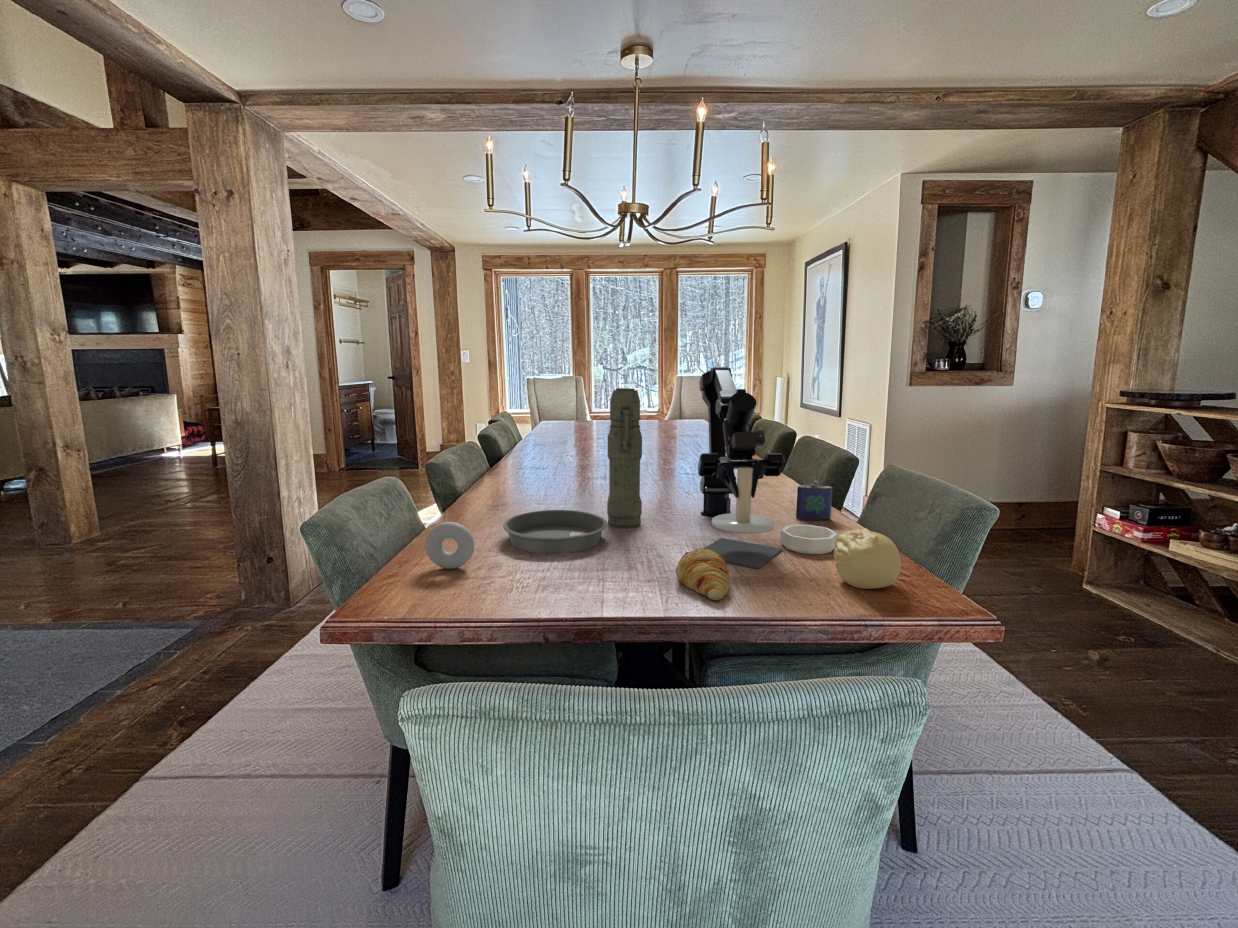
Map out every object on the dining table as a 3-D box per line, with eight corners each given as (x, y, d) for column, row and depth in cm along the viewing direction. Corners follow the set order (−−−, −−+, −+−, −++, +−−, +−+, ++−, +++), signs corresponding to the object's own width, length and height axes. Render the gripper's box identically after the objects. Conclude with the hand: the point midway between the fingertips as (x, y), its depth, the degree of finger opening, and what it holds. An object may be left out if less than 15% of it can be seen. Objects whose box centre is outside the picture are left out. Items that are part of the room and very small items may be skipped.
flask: (829, 518, 168) (831, 479, 166) (832, 520, 165) (834, 481, 163) (794, 517, 168) (796, 479, 166) (797, 520, 165) (799, 481, 163)
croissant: (733, 622, 111) (755, 584, 110) (686, 600, 109) (708, 561, 108) (699, 578, 131) (717, 545, 131) (658, 559, 129) (677, 525, 128)
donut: (424, 571, 126) (421, 524, 124) (428, 565, 129) (426, 519, 127) (473, 571, 126) (471, 523, 124) (476, 565, 129) (475, 519, 127)
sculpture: (824, 572, 126) (828, 521, 124) (884, 573, 126) (888, 522, 124) (842, 594, 115) (847, 538, 113) (908, 595, 114) (913, 539, 112)
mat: (693, 556, 136) (693, 554, 136) (721, 539, 148) (721, 537, 148) (758, 569, 128) (758, 567, 128) (782, 550, 140) (782, 548, 140)
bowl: (775, 548, 141) (775, 533, 140) (791, 536, 151) (792, 522, 150) (826, 558, 135) (827, 542, 134) (840, 544, 144) (841, 529, 144)
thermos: (636, 516, 168) (637, 387, 162) (645, 528, 157) (647, 390, 151) (604, 517, 167) (604, 387, 161) (610, 530, 155) (611, 390, 149)
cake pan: (542, 564, 131) (541, 544, 130) (484, 538, 149) (483, 520, 148) (628, 542, 147) (628, 523, 146) (566, 520, 165) (566, 504, 164)
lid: (701, 527, 135) (703, 469, 133) (726, 513, 146) (728, 460, 144) (761, 537, 128) (764, 476, 125) (782, 522, 139) (785, 466, 136)
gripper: (701, 417, 136) (707, 476, 128) (785, 417, 137) (797, 476, 128) (695, 447, 146) (700, 504, 137) (774, 447, 146) (784, 504, 137)
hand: (745, 496), depth 134 cm, fingers closed on lid, 3 cm apart
